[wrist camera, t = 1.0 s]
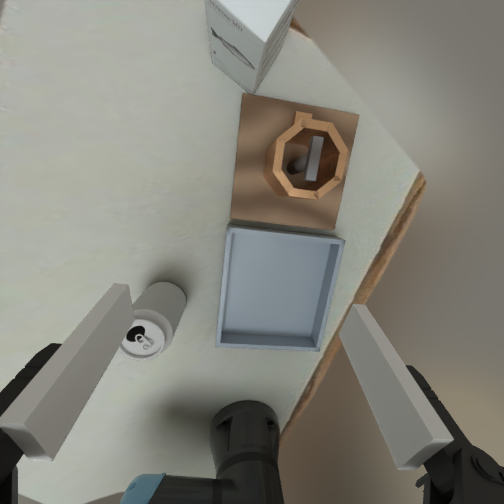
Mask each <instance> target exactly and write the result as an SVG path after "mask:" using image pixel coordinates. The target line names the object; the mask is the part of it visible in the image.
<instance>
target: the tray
mask: <svg viewBox="0 0 504 504" xmlns="http://www.w3.org/2000/svg"><path fill="white" fill-rule="evenodd" d="M344 245H345V240H343V239H341V238H338V237H335V236H326V235H318V234H309V233H300V232H291V231H283V230H274V229H265V228H256V227H248V226H239V225H230V224H228V225H227V235H226V245H225V255H224V265H223V275H222V285H221V295H220V305H219V315H218V325H217V335H216V345H215V347H231V348H253V349H274V350H296V351H318V352H320V347H321V343H322V339H323V335H324V330H325V326H326V322H327V317H328V313H329V309H330V305H331V300H332V296H333V292H334V287H335V283H336V279H337V275H338V270H339V266H340V262H341V257H342V253H343V249H344Z"/></svg>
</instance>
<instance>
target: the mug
mask: <svg viewBox="0 0 504 504" xmlns="http://www.w3.org/2000/svg"><path fill="white" fill-rule="evenodd" d="M313 136H319V137H324V139H323V144H322V149H321V155H320V160H319V165H318V171H317V176H316V181H311V182H310V183H309V184H307V185H306V186H305V187H304V188H302V189H295V188H294V187H293V186H292V184H291V183H290V181H289V180H288V178H287V177H286V175H285V174H284V173H283V171H282V170H281V166H282V159H283V152H284V146H285V144H287V143H292V144H299V145H305V146H306V147H307V149H308V148H309V142H310V138H311V137H313ZM347 153H348V149H347V147H346V145H345V144H344V142H343V140H342V138H341V137H340V135H339V133H338V131H337V130H336V128H335V126H334V124H333V123H330V122H325V121H319V120H314V119H312V114H310V113H304V112H299V111H296V112H295V113H294V115H293V121H292V127H290V128H289V129H288V130H287V131H286V132H284V133H283V134H282V135H281V136H279V137H278V138H277V139H276V140H275V141H274V143H273V144H272V145H271V146H270V147H269V149H268V150H267V152H266V159H265V167H264V174H263V177H264V178H265V180H266V181H267V182H268V184H269V185H270V187H271V188H272V189H273V191H274V192H275V194H276V195H277V196H283V197H290V198H298V199H310V200H318V199H319V198H321V197H322V196H323V195H325V194H326V193H327V192H328V191H330V190H331V189H332V188H334V187H335V186H336V185H337V184H339V183H340V182H341V181H342V176H343V172H344V167H345V162H346V158H347Z"/></svg>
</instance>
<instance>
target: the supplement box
mask: <svg viewBox="0 0 504 504" xmlns="http://www.w3.org/2000/svg"><path fill="white" fill-rule="evenodd" d="M298 1H299V0H205V8H206V17H207V25H208V33H209V41H210V49H211V57H212V63H213V64H214V65H216V66H217V67H218V68H220V69H221V70H222V71H223V72H225V73H226V74H227V75H228V76H230V77H231V78H232V79H233V80H234V81H236V82H237V83H238V84H239V85H240V86H241V87H243V88H244V89H245V90H246V91H247V92H248V93H249V94H252V95H254V93H255V92H256V90H257V88H258V87H259V85H260V83H261V82H262V80H263V78H264V77H265V75H266V73H267V72H268V70H269V68H270V67H271V65H272V63H273V62H274V60H275V59H276V57H277V55H278V53H279V52H280V49H281V47H282V44H283V42H284V39H285V36H286V34H287V31H288V28H289V25H290V23H291V20H292V17H293V14H294V12H295V8H296V6H297V3H298Z"/></svg>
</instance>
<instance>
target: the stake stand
mask: <svg viewBox="0 0 504 504" xmlns="http://www.w3.org/2000/svg"><path fill="white" fill-rule="evenodd" d="M296 111H299V112H304V113H310V114H312V119H314V120H319V121H325V122H330V123H333V124H334V126H335V128H336V130H337V131H338V133H339V135H340V137H341V138H342V140H343V142H344V144H345V145H346V147H347V149H348V153H347V158H346V162H345V167H344V172H343V176H342V181H341V182H340V183H339V184H337V185H336V186H335V187H334V188H332V189H331V190H330V191H328V192H327V193H326V194H325V195H323V196H322V197H321V198H319V199H318V200H310V199H298V198H290V197H283V196H277V195H276V194H275V192H274V191H273V189H272V188H271V187H270V185H269V184H268V182H267V181H266V180H265V178H264V177H263V174H264V167H265V159H266V152H267V150H268V149H269V147H270V146H271V145H272V144H273V143H274V141H275V140H276V139H277V138H278V137H279V136H281V135H282V134H283V133H284V132H286V131H287V130H288V129H289V128H290V127H292V121H293V115H294V113H295V112H296ZM358 119H359V115H358V114H353V113H347V112H342V111H337V110H332V109H326V108H321V107H316V106H310V105H305V104H300V103H294V102H289V101H284V100H279V99H273V98H268V97H263V96H257V95H252V94H247V93H243V96H242V105H241V115H240V125H239V135H238V145H237V154H236V164H235V174H234V184H233V194H232V203H231V213H230V218H232V219H240V220H249V221H257V222H266V223H274V224H283V225H291V226H300V227H308V228H317V229H325V230H334V229H335V224H336V220H337V215H338V211H339V206H340V202H341V197H342V192H343V188H344V183H345V179H346V174H347V170H348V165H349V160H350V156H351V151H352V147H353V142H354V137H355V133H356V128H357V124H358ZM323 139H324V137H319V136H313V137H311V138H310V142H309V148H308V149H307V147H306V146H305V145H299V144H292V143H287V144H285V146H284V152H283V159H282V166H281V170H282V171H283V173H284V174H285V175H286V177H287V178H288V180H289V181H290V183H291V184H292V186H293V187H294V188H295V189H302V188H304V187H305V186H306V185H307V184H309V183H310V182H311V181H316V176H317V171H318V165H319V160H320V155H321V149H322V144H323Z"/></svg>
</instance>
